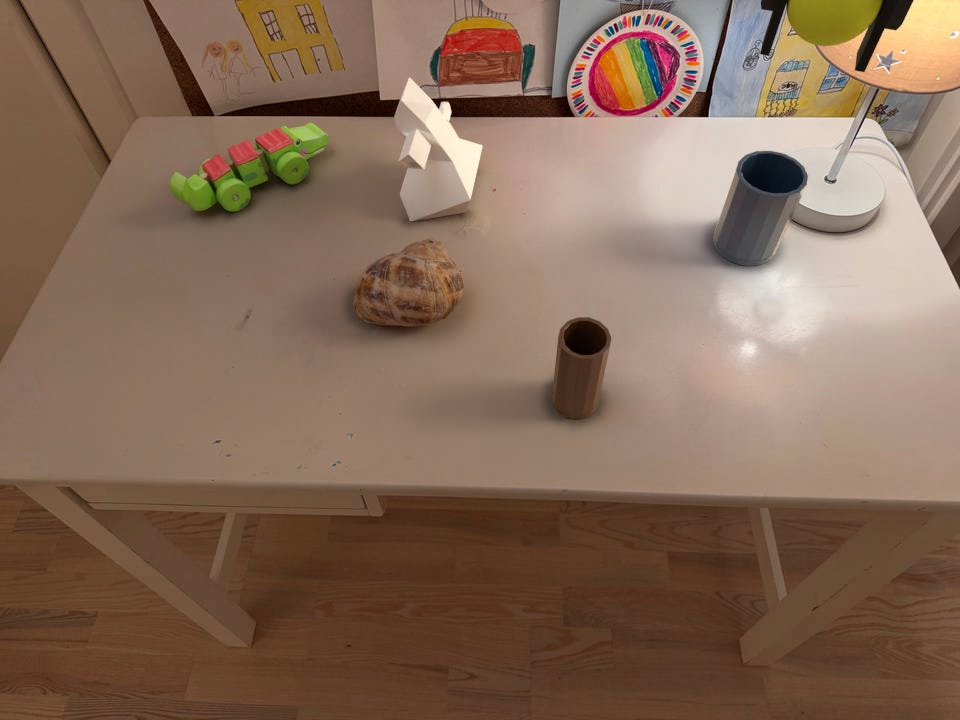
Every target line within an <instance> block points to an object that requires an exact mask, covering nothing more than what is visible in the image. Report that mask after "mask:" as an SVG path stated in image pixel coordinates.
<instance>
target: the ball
mask: <svg viewBox="0 0 960 720" xmlns="http://www.w3.org/2000/svg"><path fill="white" fill-rule="evenodd" d="M883 2H884V0H787V3H786V16H787V19H788V22H789V25H790V27H791V29H792V30H793V32H794V33H795V34H796V35H797V36H798V37H799V38H800V39H802V40H803V41H804V42H806V43H808V44H811V45H814V46H819V47H833V46H838V45H842V44H844V43H845V44H846V43H848V42H849V41H852V40H853V39H855V38H857V37H858V36H860V35H861V34H862V33H864V32H866V31H867V29H868V27H869V26H870V25H871V24H872V22H873V21H874V20H875V18H876V17H877V15H878V14H879V12H880V10H881V8H882V5H883Z"/></svg>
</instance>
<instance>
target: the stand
mask: <svg viewBox="0 0 960 720" xmlns="http://www.w3.org/2000/svg"><path fill="white" fill-rule="evenodd" d="M611 343H612V336H611V332H610V330H609V327H607V326H606V325H604V323H603V322H601V321H600V320H597V319H595V318H592V317H589V316H588V317H587V316H583V317H582V316H580V317H579V316H578V317H575V318H572V319H569V320H567V321H566V322H565V323H564V324H563V325H562V326H561V327H560V328H559V332H558V337H557V345H556V355H555V363H554V371H553V372H554V373H553V383H552V391H551V395H552V396H551V402H552V405H553V406H554V408H555V410H556V411H557V412H558V414H560V415H561V416H564V417H565V418H568V419H571V420H582V419H585V418H587V417H590V416H591V415H592V414H593V413H595V411H596V409H597V407H598V404H599V400H600V397H601V392H602V387H603V382H604V378H605V373H606V367H607V363H608V358H609V355H610V354H609V353H610V349H611Z"/></svg>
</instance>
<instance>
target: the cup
mask: <svg viewBox="0 0 960 720" xmlns="http://www.w3.org/2000/svg"><path fill="white" fill-rule="evenodd" d="M808 182H809V174H808V171H807V169H806V167H805V166H804V165H803V164H802V163H801V162H800V161H798V160H797V159H796V158H794V157H792V156H790V155H788V154H786V153H784V152H779V151H774V150H756V151H752V152H749V153H747V154H744V156H743V157H742V158H741V159H739V160H738V162H737V164H736V167H735V170H734V173H733V175H732V179H731V182H730V184H729V187H728V191H727V193H726V197H725V199H724V202H723V205H722V208H721V211H720V213H719V216H718V220H717V223H716V225H715V229H714V233H713V236H712V243H713V246H714V248H715V249H716V250H715V251H717V253H718V254H719V255H720V256H721V257H722V258H724V259H726V260H728V261H729V262H730V263H733V264H736V265H740V266H746V267H754V266H755V267H756V266H760V265H763V264H766V263H768V262H769V261H770V260H771V259H773V257H774V256H775V254H776V252H777V251H778V250H779V247H780V245H781V243H782V240H783V239H784V237H785V235H786V232H787V230H788V228H789V225H790V223H791V222H792V219H793V217H794V214H795V213H796V210H797V209H798V206H799V203H800V201H801V199H802V197H803V194H804V192H805V191H806V188H807V187H808Z"/></svg>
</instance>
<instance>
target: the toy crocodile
mask: <svg viewBox="0 0 960 720" xmlns="http://www.w3.org/2000/svg"><path fill="white" fill-rule="evenodd" d="M329 140H330V137H329V135H328V134H327V133H326V132H325V131H323V130H322V129H321V128H320V127H318V126H317V125H316V124H315V123H314V122H307V124H305V125H301V126H296V127H287V126H286V125H282V126H281V127H280V128H279V127H276V128H274V129H272V130H271V131H268V132H267V131H266V132H265V133H264V134H262V135H259V136H257V137H255V139H254V143H255V144H254V146H253V144H252V143H251V142H250V140H243V141H241V142H239V143H238V144H234V145H232V146H230V147H228V148H227V153H228V155H229V158H230V159H228V160H225V159H224V158H223V157H222V156H221V155H220V153H216V154H215V155H213V156H212V157H209V158H206V159H205V160H203V161H202V163H201V164H200V165H199V167H198V171H197V174H196V173H194V174H192V175H191V176H190V177H188V178H187V176H184V175H183V174H182V173H180V172H178V171H175V172H174V173H173V175H172V176H171V178H170V181H169V190H170V192H171V193H172V195H173V196H174V197H175V198H176V199H177V200H178V201H180V202H181V203H183V204H184V205H185V206H187V207H189V209H191V210H193V211H195V212H196V211H197V212H201V211H205V210H208V209H210V208H211V207H213V206H214V205H215V204H216V203H219V205H220V206H222V208H223V209H224V210H226V211H228V212H232V213H233V212H239V211H241V210H243V209H244V208H246V207H247V206H248V204H249V203H250V201H251V198H252V197H251V195H252V194H251V193H252V192H251V190H250V188H253V187H255V186H258V185H260V184H262V183H265V182H267V181H269V177H268V175H267V173H268V172H269V171H271V172H272V173H273V174H274V175H275V176H277V177H279V178H280V179H281V180H282V181H284V183H286V184H288V185H296V184H299V183H301V182H302V181H303V180H304V179H306V177H307V175H308V173H309V170H310V168H309V167H310V166H309V162H308V161H307V160H309V159H310V158H312V157H314V156H316V155H318V154H319V153H321V152H323V151H325V150H326V148H327V144H328V142H329Z"/></svg>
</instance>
